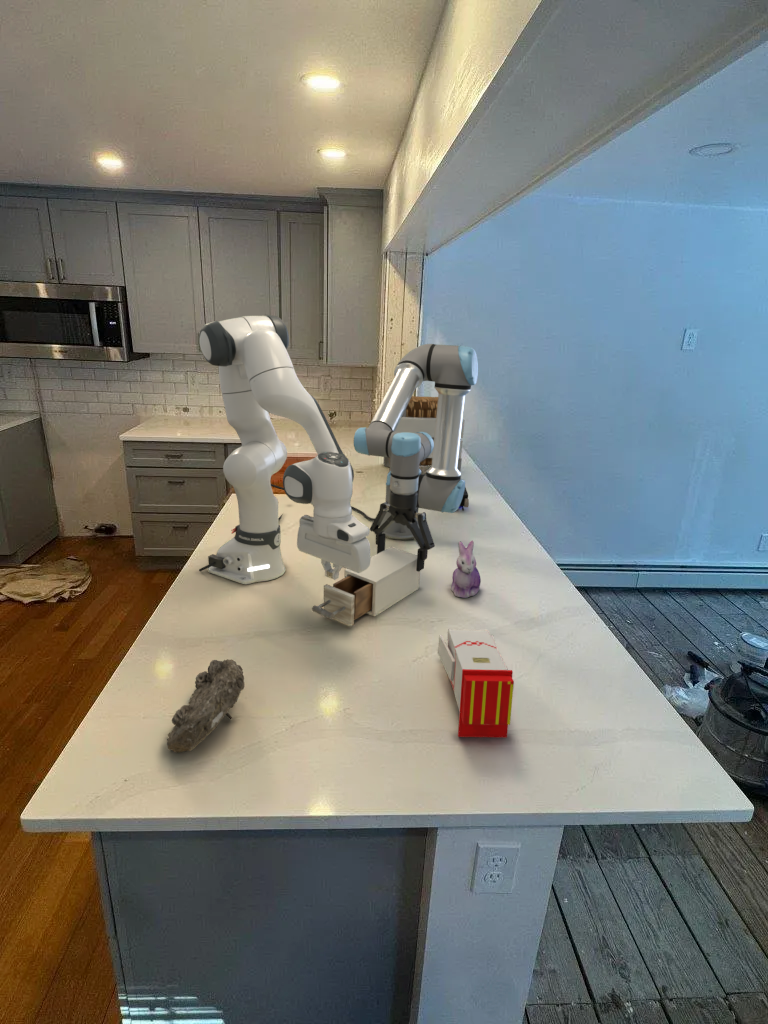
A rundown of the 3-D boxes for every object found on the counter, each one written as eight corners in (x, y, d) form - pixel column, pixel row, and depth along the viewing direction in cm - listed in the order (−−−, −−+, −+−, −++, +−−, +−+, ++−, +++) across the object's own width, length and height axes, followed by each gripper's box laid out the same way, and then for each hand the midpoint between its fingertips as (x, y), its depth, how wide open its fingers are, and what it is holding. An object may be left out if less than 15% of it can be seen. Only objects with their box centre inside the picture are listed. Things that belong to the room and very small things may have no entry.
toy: (488, 613, 130) (523, 677, 101) (484, 667, 133) (517, 744, 104) (435, 612, 130) (455, 676, 101) (432, 666, 133) (451, 743, 103)
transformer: (382, 463, 289) (386, 382, 275) (445, 464, 293) (451, 384, 279) (390, 482, 257) (394, 392, 243) (460, 483, 261) (468, 394, 247)
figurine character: (468, 516, 224) (463, 500, 237) (471, 498, 221) (465, 483, 234) (452, 515, 224) (447, 499, 237) (453, 498, 220) (449, 482, 234)
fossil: (192, 660, 117) (244, 628, 112) (224, 691, 120) (276, 661, 115) (142, 746, 98) (202, 712, 93) (182, 779, 101) (242, 748, 96)
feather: (290, 508, 223) (292, 504, 223) (272, 532, 197) (275, 527, 196) (286, 505, 223) (289, 501, 223) (268, 529, 197) (271, 525, 196)
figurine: (461, 602, 155) (467, 551, 150) (441, 586, 163) (445, 537, 158) (489, 595, 159) (495, 546, 154) (468, 580, 167) (473, 533, 162)
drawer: (334, 636, 135) (335, 606, 132) (307, 623, 140) (307, 594, 137) (397, 597, 154) (398, 570, 151) (370, 587, 159) (371, 560, 156)
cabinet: (374, 616, 146) (375, 581, 142) (343, 603, 151) (344, 569, 148) (419, 588, 161) (421, 556, 158) (389, 577, 167) (391, 546, 164)
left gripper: (290, 516, 134) (291, 569, 139) (357, 538, 123) (356, 595, 127) (309, 509, 139) (309, 561, 144) (375, 530, 128) (373, 585, 132)
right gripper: (358, 484, 156) (357, 554, 164) (435, 505, 143) (430, 580, 150) (375, 478, 162) (373, 546, 169) (451, 498, 148) (444, 571, 156)
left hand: (331, 577), depth 135 cm, fingers closed
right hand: (399, 562), depth 160 cm, fingers open, 13 cm apart
